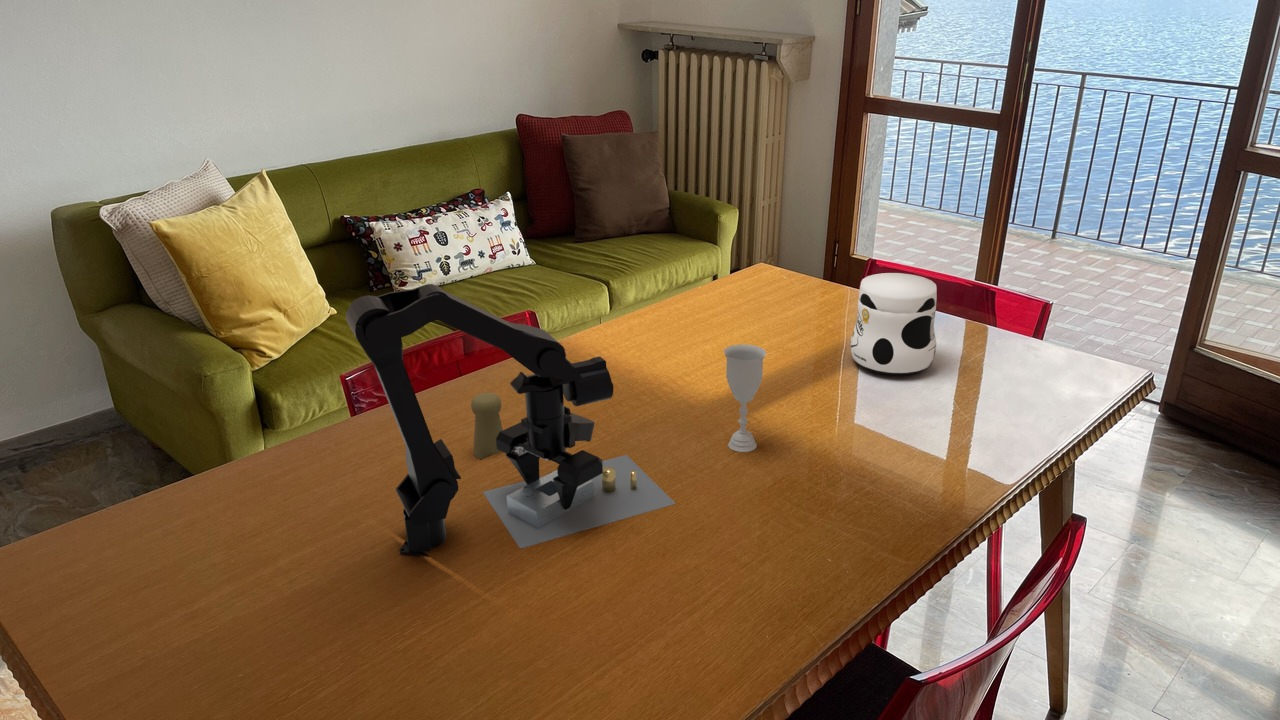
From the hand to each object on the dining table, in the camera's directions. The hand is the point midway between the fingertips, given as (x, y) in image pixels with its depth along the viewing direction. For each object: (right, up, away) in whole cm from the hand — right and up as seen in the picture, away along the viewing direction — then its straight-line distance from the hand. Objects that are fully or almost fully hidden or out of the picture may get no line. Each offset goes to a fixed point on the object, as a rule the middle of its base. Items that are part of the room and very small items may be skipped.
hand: (551, 500), depth 149 cm
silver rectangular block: (0, -1, 0) cm, 1 cm away
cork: (-13, +6, +19) cm, 23 cm away
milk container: (+67, +21, +51) cm, 87 cm away
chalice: (+32, +7, +19) cm, 38 cm away
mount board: (+4, -1, +3) cm, 5 cm away
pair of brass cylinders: (+11, +1, +4) cm, 12 cm away
